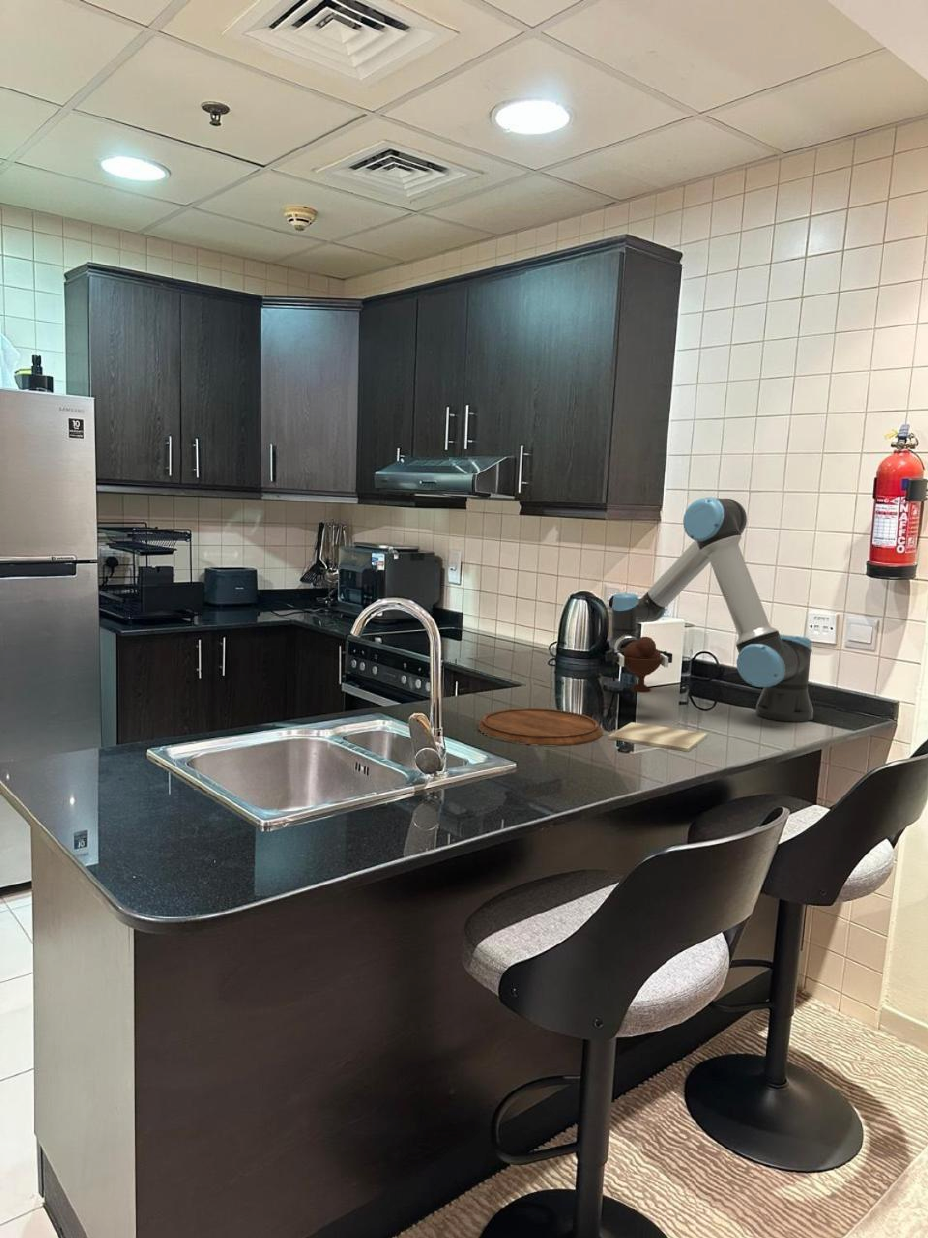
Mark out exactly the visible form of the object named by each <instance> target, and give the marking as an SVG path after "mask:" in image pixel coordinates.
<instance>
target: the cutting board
mask: <svg viewBox="0 0 928 1238" xmlns="http://www.w3.org/2000/svg"><path fill="white" fill-rule="evenodd" d="M478 727H479V729H481V730H482V731H483V732H484V733H486V734H489V735H491V736H493V737H500V738H503V739H506V740H509V741H514V742H519V743H529V744H538V745H557V746H556V747H570V746H579V745H585V744H589V743H592V742H595V741H597V740H599V739H601V738H602V737H603V734H604V731H603V729H602V727H601V725H600V724H599V722H598V721H597V720H596V719H595V718H592V717H590V716H588V715H585V714H582V713H578V712H573V711H568V710H562V709H561V710H560V709H555V708H554V709H553V708H541V707H540V708H538V707H536V708H535V707H530V708H529V707H528V708H527V707H523V708H522V707H520V708H518V707H517V708H508V709H501V710H495V711H491V712H489V713H486V714H485V715H484V716H483V717H482V718H481V719H480V721H479V722H478V723H477V728H478ZM558 745H559V746H558ZM560 745H561V746H560Z"/></svg>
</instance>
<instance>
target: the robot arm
mask: <svg viewBox="0 0 928 1238" xmlns="http://www.w3.org/2000/svg"><path fill="white" fill-rule="evenodd" d="M682 523H683V525H682V526H683V530H684V532H685V533H686V535H687V536H688V537H689V538H691V539H692V540H693V542H692V543H691V544H690V545H689V546H688V547H687V548H686V549H685V551H684V552H682V554H681V555H680V556H679V557H678V558H677V559H676V560H675V561H674V563H673V564H672V565H671V566H670V567H669V568H668V569H667V570H666V571H664V573H663V574H662V575H661V576H660V577H659V579H657V581H656V582H655V583H654V584H653V585H652V586H651V587H650V588H649V589H648V590H647V591H646V592H645V594H644V595H643V596H642V597H639V596H638V595H637V594H635V593H629V592H628V593H627V592H619V593H614V595H613V597H612V605H611V634H610V637H609V641H608V646H609V650H607V651H606V652H605V662H606V663H609V662H611V663H612V665H613V666H615V665H617V664H618V665H619V666H620V667H622V668H624V667H625V666H624V656H623V655H624V650H625V648H626V646H627V645H629V644H630V643H632V642H634V641H637V640H638V639H637V631H638V624H639V623H649V622H650V623H651V622H655V621H658V620H660V619H662V617H664V616H665V612H666V608H667V607H668V606H669V605H670V604H671V603H672V602H673V601H674V600H675V599H676V598H677V596H679V594H680V593H682V591H684V589H685V588H686V587H688V585H689V584H690V583H691V582H692V581H693V580H694V579H695V578H696V577H697V576H698V575H699V574H700V573H701V572H702V571H703V570H704V569H705V568H706V567H707V565H709V564H710V565H711V568H712V571H713V572H714V575H715V577H716V581H717V583H718V585H719V588H720V591H721V594H722V596H723V599H724V602H725V605H726V607H727V609H728V612H729V615H730V617H731V620H732V622H733V626H734V628H735V631H736V633H737V635H738V636H737V637H738V638H737V641H736V643H735V647H736V649H737V652H738V656H737V658H736V668H737V672H738V675H740V677H741V678H742V680H744V681H745V682H746V683H748V684H749V685H751V686H753V687H758V688H763V689H762V691H761V693H760V695H759V697H758V700H757V702H756V705H755V714H756V715H757V716H759V717H762V718H765V719H769V720H774V721H781V722H796V723H799V722H801V723H802V722H808V721H811V720H813V715H814V709H813V705H812V702H811V701H812V700H811V698H810V694H809V681H810V680H809V679H810V669H811V667H810V666H811V656H812V641H811V639H810V638H809V637H807V636H806V637H805V636H797V635H789V634H786V635H785V634H781V633H780V632H779V630H778V629H777V628H775V627H773V626H771V625H770V622H769V620H768V617H767V615H766V612H765V609H764V607H763V605H762V602H761V599H760V597H759V594H758V591H757V589H756V586H755V584H754V582H753V579H752V576H751V574H750V571H749V568H748V565H747V563H746V561H745V558H744V556H743V553H742V550H741V547H740V541H741V540H742V534H743V533H744V531H745V530H746V527H747V525H748V524H747V523H748V515H747V511H746V509H745V508H744V506H743V505H742V504H741V503H740V502H738V501H737V500H734V499H731V498H716V497H712V496H711V497H704V498H702V497H701V498H699V499H696V500H694V501H693V502H692V503H691V504H690V505H688V507H687V509H686V510H685V513H684V515H683V521H682ZM656 649H657V648H656ZM657 650H658V651H659V653H660V656H661V657H663V658H662V662H661V664H660V666H662V667H664V668H669V664H671V663H673V653H672V652H668V651H667V650H665V651H664V650H659V649H657Z"/></svg>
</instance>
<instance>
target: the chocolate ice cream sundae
mask: <svg viewBox="0 0 928 1238" xmlns="http://www.w3.org/2000/svg"><path fill="white" fill-rule="evenodd" d="M658 650H659V649H658ZM658 650H657V646H656V642H655V641H654V639H653V638H652V637H649V636H641V637H639V638H638V639H637V641H634V642H632V643H630V644H629V645H627V646H626V648H625V650H624V655H623V656H624V667H625V669H626V670H627V671H629V672H630V673H631V674H633V675H635V676H636V678H637V684H635V685H633V686H632V687H630V689H629V690H630V691H631V692H633V693H645V694H646V693H650V692H651V688H650V687H648V686H647V685H645V678H646V677H647V676H650V675H651V674H652V673H654V672H656V670H657V669H659V668H660V666H661V662H662V658H663V657H661V656H660V653H659V651H658Z"/></svg>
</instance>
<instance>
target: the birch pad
mask: <svg viewBox="0 0 928 1238" xmlns="http://www.w3.org/2000/svg"><path fill="white" fill-rule="evenodd" d="M706 738H708V733H706V732H700V731H692V730H687V729H686V730H685V729H680V728H673V727H665V726H659V725H653V724H646V723H641V722H633V721H631V722H629V723H628V724H626V725H624V726H623V727H620V729H617V730H616V731H614V732H612V733H611V734H608V736H607V739H608V740H612V741H613V740H614V741H619V742H626V743H632V744H639V745H645V746H650V747H656V748H657V747H658V748H663V749H669V750H676V751H682V752H690V751H691V750H692V749H694V748H695V747H697V745H699V744H700V743H702V741H704V740H706Z"/></svg>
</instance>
